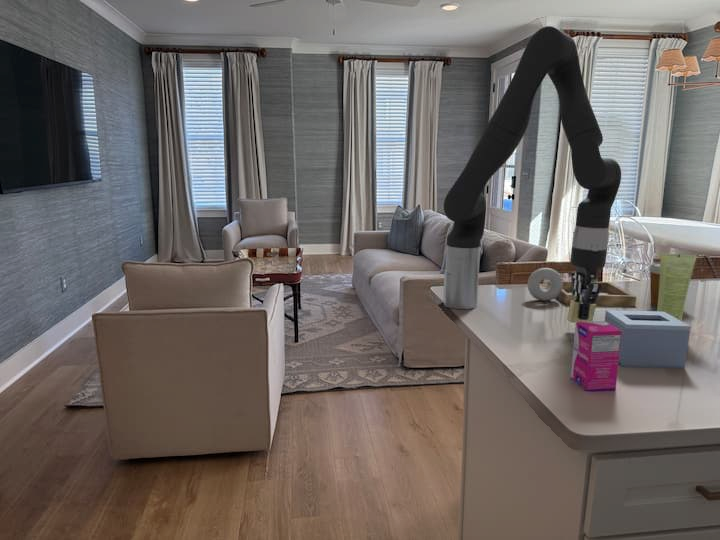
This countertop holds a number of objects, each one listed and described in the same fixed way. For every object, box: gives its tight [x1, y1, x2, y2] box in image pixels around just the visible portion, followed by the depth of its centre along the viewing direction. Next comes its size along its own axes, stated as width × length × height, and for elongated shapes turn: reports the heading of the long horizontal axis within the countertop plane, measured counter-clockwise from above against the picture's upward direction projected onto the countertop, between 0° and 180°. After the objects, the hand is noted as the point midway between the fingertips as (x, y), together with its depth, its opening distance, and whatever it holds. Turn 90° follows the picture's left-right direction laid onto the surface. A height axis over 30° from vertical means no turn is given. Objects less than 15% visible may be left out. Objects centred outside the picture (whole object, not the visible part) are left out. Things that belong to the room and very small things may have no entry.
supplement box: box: [570, 320, 622, 392], centre depth 92 cm, size 6×6×12 cm
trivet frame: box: [546, 280, 637, 307], centre depth 155 cm, size 19×18×3 cm
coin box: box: [604, 309, 692, 369], centre depth 105 cm, size 12×10×9 cm
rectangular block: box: [566, 299, 597, 324], centre depth 122 cm, size 5×2×5 cm, turn 86°
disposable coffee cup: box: [648, 262, 660, 308], centre depth 145 cm, size 10×10×12 cm
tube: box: [656, 252, 698, 321], centre depth 120 cm, size 6×5×20 cm
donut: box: [527, 267, 564, 302], centre depth 150 cm, size 10×4×10 cm, turn 84°
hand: (580, 317), depth 122 cm, fingers closed on rectangular block, 2 cm apart
